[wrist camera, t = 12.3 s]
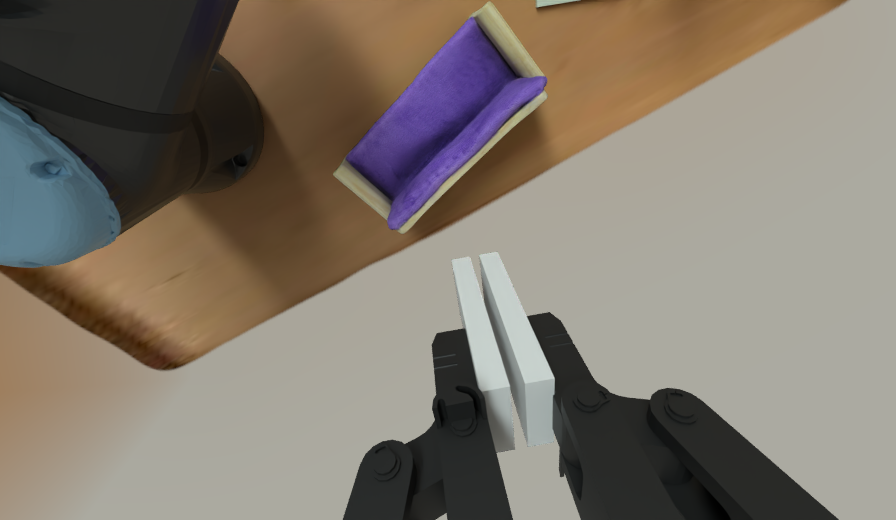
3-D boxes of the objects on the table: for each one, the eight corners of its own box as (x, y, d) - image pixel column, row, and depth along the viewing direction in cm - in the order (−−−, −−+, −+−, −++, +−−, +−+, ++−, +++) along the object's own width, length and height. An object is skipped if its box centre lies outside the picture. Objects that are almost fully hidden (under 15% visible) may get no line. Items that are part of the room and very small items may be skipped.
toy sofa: (477, 5, 36) (499, -11, 27) (529, 76, 39) (564, 83, 30) (340, 157, 42) (321, 185, 33) (397, 207, 45) (393, 245, 36)
